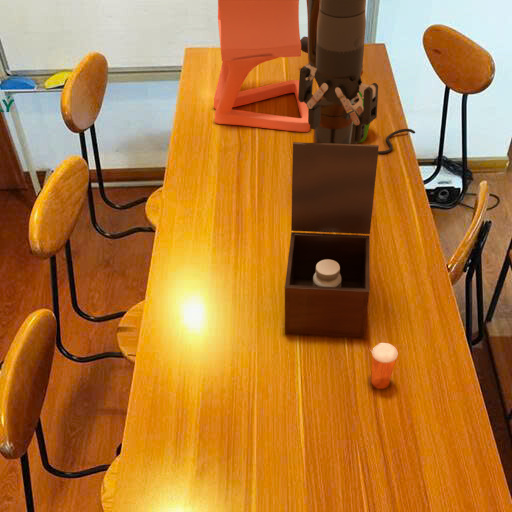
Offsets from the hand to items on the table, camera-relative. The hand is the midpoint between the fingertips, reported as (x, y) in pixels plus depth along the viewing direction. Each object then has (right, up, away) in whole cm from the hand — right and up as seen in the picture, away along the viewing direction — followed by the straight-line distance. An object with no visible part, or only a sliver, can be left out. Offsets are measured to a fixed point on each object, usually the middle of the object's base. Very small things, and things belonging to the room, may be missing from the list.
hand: (335, 134), depth 120 cm
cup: (+11, +23, +62) cm, 67 cm away
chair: (-14, +33, +71) cm, 80 cm away
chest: (0, -27, +21) cm, 35 cm away
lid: (0, -7, +10) cm, 12 cm away
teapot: (+6, +52, +86) cm, 101 cm away
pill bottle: (0, -27, +21) cm, 34 cm away
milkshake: (+9, -43, +8) cm, 45 cm away
